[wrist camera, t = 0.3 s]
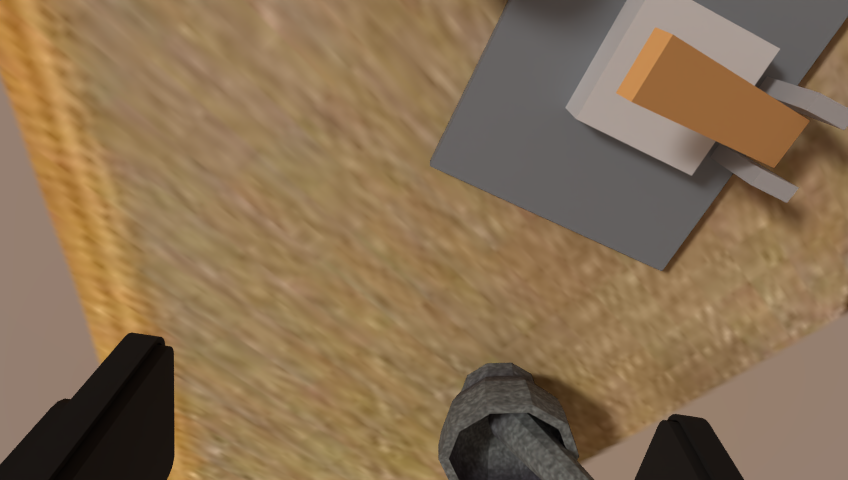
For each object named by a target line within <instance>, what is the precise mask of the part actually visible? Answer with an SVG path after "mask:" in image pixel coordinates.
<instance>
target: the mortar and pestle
mask: <svg viewBox="0 0 848 480" xmlns="http://www.w3.org/2000/svg"><path fill="white" fill-rule="evenodd" d="M578 457H579V454H578V451H577V447H576V444H575V441H574V438H573V435H572V432H571V429H570V427H569V424H568V421H567V418H566V415H565V412H564V410H563V408H562V406H561V405H560V403H559V401H558V399H557V398H556V397H554V396H553V395H551V394H550V393H548V392H547V391H545V390H544V389H542V388H540V387H538V386H537V385H535V384H534V381H533V378H532V375H531V374H530V373H528V372H527V371H525V370H523V369H521V368H520V367H518V366H516V365H514V364H513V363H487V364H485V365H484V366H482V367H480V368H479V369H477V370H476V371H474V372H472V373H471V374H469V375H467V378H466V380H465V383H464V386H463V388H462V391H461V392H460V393H459V394H458V395H457V396H456V398H455V399H454V400H453V401H452V404H451V406H450V409H449V412H448V414H447V417H446V420H445V422H444V425H443V428H442V431H441V435H440V440H439V461H440V463H441V465H442V467H443V469H444V471H445V473H446V475H447V477H448V479H449V480H594V479H593V478H592V477H591V476H590V475H589V474H588V472H587V471H586V470H585V469H584V468H583V467H582V466H581V465H580V464H579V463H578V461H577V459H578Z"/></svg>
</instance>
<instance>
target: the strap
mask: <svg viewBox="0 0 848 480" xmlns="http://www.w3.org/2000/svg"><path fill="white" fill-rule="evenodd" d="M616 93H617V94H618V95H620V96H622V97H624V98H625V99H627V100H629V101H631V102H633V103H635V104H637V105H639V106H641V107H643V108H646V109H648V110H650V111H652V112H654V113H656V114H659V115H661V116H663V117H665V118H667V119H669V120H672V121H674V122H676V123H678V124H680V125H682V126H684V127H687V128H689V129H691V130H693V131H695V132H697V133H700V134H702V135H704V136H706V137H708V138H710V139H712V140H715V141H717V142H719V143H721V144H723V145H725V146H728V147H730V148H732V149H734V150H736V151H738V152H740V153H743V154H745V155H747V156H749V157H751V158H753V159H756V160H758V161H760V162H762V163H764V164H766V165H768V166H771V167H773V168H775V166H776V165H777V164H778V162H779V161H780V160H781V158H782V157H783V156H784V154H785V153H786V152H787V151H788V149H789V148H790V147H791V145H792V144H793V143H794V141H795V140H796V139H797V137H798V136H799V135H800V133H801V132H802V131H803V129H804V128H805V127H806V125H807V124H808V123H809V122H810V120H808V119H806V118H805V117H803V116H802V115H800V114H798V113H797V112H795V111H794V110H792V109H791V108H789V107H787V106H786V105H784V104H783V103H781V102H779V101H778V100H776V99H775V98H773V97H771V96H770V95H768V94H767V93H765V92H764V91H762V90H760V89H759V88H757V87H756V86H754V85H752V84H751V83H749V82H748V81H746V80H744V79H743V78H741V77H740V76H738V75H737V74H735V73H733V72H732V71H730V70H729V69H727V68H725V67H724V66H722V65H721V64H719V63H717V62H716V61H714V60H713V59H711V58H710V57H708V56H706V55H705V54H703V53H702V52H700V51H698V50H697V49H695V48H694V47H692V46H690V45H689V44H687V43H686V42H684V41H683V40H681V39H679V38H678V37H676V36H675V35H673V34H671V33H668V32H666V31H663V30H661V29H659V28H656V27H655V28H654V30H653V32H652V33H651V35H650V37H649V38H648V40H647V42H646V43H645V45H644V47H643V48H642V50H641V52H640V53H639V55H638V57H637V58H636V60H635V62H634V63H633V65H632V67H631V68H630V70H629V72H628V73H627V75H626V77H625V78H624V80H623V82H622V83H621V85H620V87H619V88H618V90H617V92H616Z"/></svg>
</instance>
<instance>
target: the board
mask: <svg viewBox="0 0 848 480" xmlns="http://www.w3.org/2000/svg"><path fill="white" fill-rule="evenodd" d="M847 17H848V0H508V2H507V4H506V6H505V8H504V10H503V13H502V15H501V17H500V19H499V21H498V23H497V25H496V27H495V29H494V31H493V33H492V35H491V37H490V39H489V41H488V43H487V45H486V47H485V49H484V51H483V53H482V55H481V58H480V60H479V62H478V64H477V66H476V68H475V70H474V72H473V74H472V76H471V78H470V80H469V82H468V84H467V86H466V88H465V90H464V92H463V94H462V96H461V98H460V101H459V103H458V105H457V107H456V109H455V111H454V113H453V115H452V117H451V119H450V121H449V123H448V125H447V127H446V129H445V131H444V133H443V135H442V137H441V139H440V141H439V144H438V146H437V148H436V150H435V152H434V154H433V156H432V158H431V160H430V166H431V167H433V168H435V169H438V170H440V171H442V172H444V173H446V174H449V175H451V176H453V177H455V178H457V179H460V180H462V181H464V182H466V183H468V184H471V185H473V186H475V187H477V188H479V189H482V190H484V191H486V192H488V193H491V194H493V195H495V196H497V197H499V198H502V199H504V200H506V201H508V202H510V203H513V204H515V205H517V206H519V207H521V208H524V209H526V210H528V211H530V212H532V213H535V214H537V215H539V216H541V217H543V218H546V219H548V220H550V221H552V222H554V223H557V224H559V225H561V226H563V227H565V228H568V229H570V230H572V231H574V232H576V233H579V234H581V235H583V236H585V237H587V238H590V239H592V240H594V241H596V242H598V243H601V244H603V245H605V246H607V247H609V248H612V249H614V250H616V251H618V252H620V253H623V254H625V255H627V256H629V257H631V258H634V259H636V260H638V261H640V262H642V263H645V264H647V265H649V266H651V267H653V268H656V269H658V270H660V271H662V270H663V269H664V268H665V266H666V265H667V264H668V262H669V261H670V259H671V258H672V257H673V255H674V254H675V253H676V251H677V250H678V248H679V247H680V246H681V244H682V243H683V242H684V240H685V239H686V237H687V236H688V235H689V233H690V232H691V231H692V229H693V228H694V227H695V225H696V224H697V222H698V221H699V220H700V218H701V217H702V216H703V214H704V213H705V211H706V210H707V209H708V207H709V206H710V205H711V203H712V202H713V200H714V199H715V198H716V196H717V195H718V194H719V192H720V191H721V189H722V188H723V187H724V185H725V184H726V183H727V181H728V180H729V179H730V177H731V176H732V174H733V173H734V174H735V175H737V176H738V177H740V178H741V179H743V180H744V181H746V182H747V183H749V184H750V185H752V186H754V187H756V188H758V189H760V190H762V191H764V192H766V193H768V194H770V195H772V196H774V197H776V198H778V199H780V200H782V201H784V202H786V203H787V202H788V201H789V200H790V198H791V197H792V196H793V195H794V193H795V192H796V191H797V190H798V187H797V186H795V185H793V184H792V183H790V182H788V181H786V180H785V179H783V178H781V177H780V176H778V175H776V174H775V173H773V172H771V171H770V170H768V169H766V168H765V167H763V166H761V165H760V164H758V163H756V162H754V161H753V160H751V159H749V158H748V157H746V155H745V154H743V153H740V152H738V151H736V150H734V149H732V148H730V147H728V146H725V145H723V144H721V143H719V142H717V141H715V140H712V139H710V138H708V137H706V136H704V135H702V134H700V133H697V132H695V131H693V130H691V129H689V128H687V127H684V126H682V125H680V124H678V123H676V122H674V121H672V120H669V119H667V118H665V117H663V116H661V115H659V114H656V113H654V112H652V111H650V110H648V109H646V108H643V107H641V106H639V105H637V104H635V103H633V102H631V101H629V100H627V99H625V98H624V97H622V96H620V95H618V94H617V93H616V92H617V90H618V88H619V87H620V85H621V83H622V82H623V80H624V78H625V77H626V75H627V73H628V72H629V70H630V68H631V67H632V65H633V63H634V62H635V60H636V58H637V57H638V55H639V53H640V52H641V50H642V48H643V47H644V45H645V43H646V42H647V40H648V38H649V37H650V35H651V33H652V32H653V30H654V28H655V27H656V28H659V29H661V30H663V31H666V32H668V33H671V34H673V35H675V36H676V37H678V38H679V39H681V40H683V41H684V42H686V43H687V44H689V45H690V46H692V47H694V48H695V49H697V50H698V51H700V52H702V53H703V54H705V55H706V56H708V57H710V58H711V59H713V60H714V61H716V62H717V63H719V64H721V65H722V66H724V67H725V68H727V69H729V70H730V71H732V72H733V73H735V74H737V75H738V76H740V77H741V78H743V79H744V80H746V81H748V82H749V83H751V84H752V85H754V86H756V87H757V88H759V89H760V90H762V91H764V92H765V93H767V94H768V95H770V96H771V97H773V98H775V99H776V100H778V101H779V102H781V103H783V104H784V105H786V106H787V107H789V108H791V109H792V110H794V111H796V112H798V113H801V114H803V115H806V116H809V117H811V118H814V119H816V120H819V121H821V122H824V123H827V124H829V125H832V126H834V127H837V128H840V129H842V130H845V129H846V127H847V126H848V108H847V107H845V106H843V105H841V104H839V103H838V102H836V101H834V100H832V99H830V98H828V97H826V96H825V95H823V94H821V93H818V92H815V91H812V90H809V89H806V88H803V87H799V86H797V85H798V84H799V83H800V81H801V80H802V78H803V77H804V76H805V74H806V73H807V72H808V70H809V69H810V67H811V66H812V65H813V63H814V62H815V61H816V59H817V58H818V56H819V55H820V54H821V52H822V51H823V50H824V48H825V47H826V45H827V44H828V43H829V41H830V40H831V39H832V37H833V36H834V35H835V33H836V32H837V30H838V29H839V28H840V26H841V25H842V24H843V22H844V21H845V19H846V18H847Z"/></svg>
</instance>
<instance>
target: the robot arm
mask: <svg viewBox="0 0 848 480" xmlns="http://www.w3.org/2000/svg"><path fill="white" fill-rule="evenodd" d="M173 461H174V351H173V348H172V347H170V346H165V341H164V339H163V338H162V337H158V336H151V335H144V334H138V333H129V334H127V335H126V336H125V337H124V338H123V339H122V341H121V342H120V343H119V344H118V345H117V346H116V348H115V349H114V350H113V351H112V352H111V353H110V355H109V356H108V357H107V358H106V359H105V360H104V361H103V363H102V364H101V365H100V366H99V367H98V368H97V370H96V371H95V372H94V373H93V374H92V375H91V377H90V378H89V379H88V380H87V381H86V382H85V384H84V385H83V386H82V387H81V388H80V389H79V390H78V392H77V393H76V394H75V395H74V396H73V398H72V399H63V400H60V401H58V402H57V403H56V404H55V405H54V406H53V407H51V408H50V409H49V411H48V412H47V413H46V414H45V415H44V416H43V418H42V419H41V420H40V421H39V422H38V423H37V424H36V425H35V426H34V427H33V429H32V430H31V431H30V432H29V433H28V434H27V435H26V436H25V438H24V439H23V440H22V441H21V442H20V443H19V444H18V445H17V447H16V448H15V449H14V450H13V451H12V452H11V453H10V454H9V456H8V457H7V458H6V459H5V460H4V461H3V462H2V463H1V464H0V480H167V478H168V476H169V474H170V471H171V469H172V465H173ZM635 480H744V479H743V477H742V476H741V474H740V473H739V471H738V469H737V468H736V466H735V464H734V463H733V461H732V460H731V458H730V456H729V455H728V453H727V451H726V450H725V448H724V447H723V445H722V443H721V442H720V440H719V439H718V437H717V435H716V434H715V432H714V431H713V429H712V427H711V426H710V424H709V423H708V422H707V421H706V420H705V419H703V418H698V417H692V416H685V415H679V414H673V415H671V416H670V417H669V418H668V420H662V421H661V422H660V423H659V425H658V427H657V429H656V432H655V434H654V437H653V439H652V441H651V443H650V445H649V448H648V450H647V452H646V455H645V457H644V459H643V462H642V464H641V466H640V469H639V471H638V473H637V475H636V477H635Z"/></svg>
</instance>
